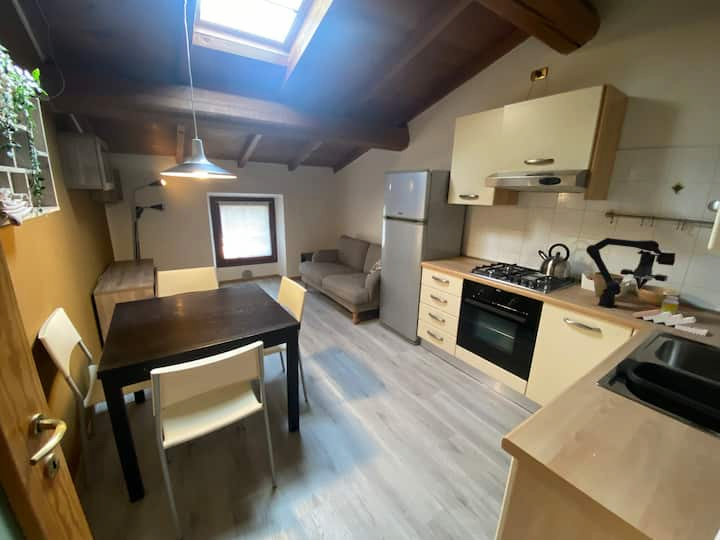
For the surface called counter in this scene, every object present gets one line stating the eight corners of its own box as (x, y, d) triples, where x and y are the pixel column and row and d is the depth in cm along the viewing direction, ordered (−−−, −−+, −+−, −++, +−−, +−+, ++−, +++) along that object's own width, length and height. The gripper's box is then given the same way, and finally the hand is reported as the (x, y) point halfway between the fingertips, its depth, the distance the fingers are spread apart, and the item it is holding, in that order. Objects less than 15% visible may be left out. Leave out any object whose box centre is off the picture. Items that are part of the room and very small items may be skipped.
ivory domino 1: (642, 316, 155) (667, 313, 147) (645, 314, 158) (670, 311, 150) (644, 320, 155) (669, 316, 147) (647, 318, 157) (672, 315, 149)
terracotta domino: (632, 314, 158) (656, 310, 150) (635, 312, 161) (659, 309, 153) (633, 317, 158) (658, 314, 150) (636, 316, 161) (661, 312, 152)
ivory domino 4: (675, 324, 145) (705, 332, 137) (678, 322, 148) (708, 329, 139) (674, 328, 145) (704, 336, 137) (677, 326, 148) (706, 333, 140)
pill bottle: (678, 317, 160) (683, 298, 158) (664, 316, 162) (670, 297, 159) (668, 313, 166) (674, 295, 164) (656, 312, 167) (661, 294, 165)
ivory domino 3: (664, 321, 148) (692, 318, 140) (666, 320, 151) (694, 316, 143) (666, 325, 148) (694, 322, 140) (668, 323, 151) (696, 320, 142)
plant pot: (586, 297, 193) (591, 273, 189) (592, 293, 202) (597, 270, 199) (615, 303, 182) (621, 278, 178) (620, 299, 191) (626, 275, 188)
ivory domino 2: (652, 319, 152) (679, 315, 144) (655, 317, 155) (681, 313, 146) (654, 323, 151) (681, 319, 143) (657, 321, 154) (683, 317, 146)
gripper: (619, 260, 166) (613, 287, 169) (665, 267, 151) (657, 296, 154) (626, 259, 172) (620, 284, 175) (671, 265, 156) (663, 293, 160)
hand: (639, 289), depth 166 cm, fingers closed
